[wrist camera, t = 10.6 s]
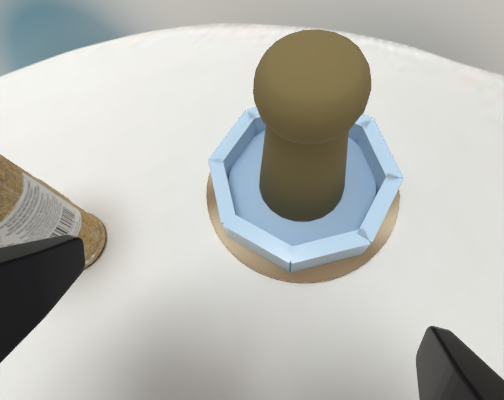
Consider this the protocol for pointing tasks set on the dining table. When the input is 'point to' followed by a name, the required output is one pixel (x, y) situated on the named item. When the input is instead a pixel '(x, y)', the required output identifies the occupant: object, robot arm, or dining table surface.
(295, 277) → the placemat
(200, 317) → the dining table surface
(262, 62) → the cork
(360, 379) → the dining table surface
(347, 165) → the bowl
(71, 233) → the sprinkles bottle
